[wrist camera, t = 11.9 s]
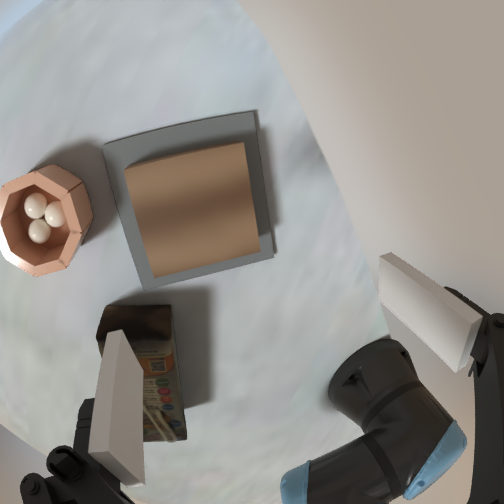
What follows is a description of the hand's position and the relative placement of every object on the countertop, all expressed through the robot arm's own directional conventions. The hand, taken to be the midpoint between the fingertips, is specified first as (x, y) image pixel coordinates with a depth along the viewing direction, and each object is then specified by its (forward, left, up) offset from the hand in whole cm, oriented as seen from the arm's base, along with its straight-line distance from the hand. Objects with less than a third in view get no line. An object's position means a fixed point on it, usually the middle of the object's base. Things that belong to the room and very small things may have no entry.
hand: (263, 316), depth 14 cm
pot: (+4, +16, -17) cm, 24 cm away
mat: (+1, +2, -17) cm, 17 cm away
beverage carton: (-17, +12, -18) cm, 27 cm away
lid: (+1, +2, -17) cm, 17 cm away
